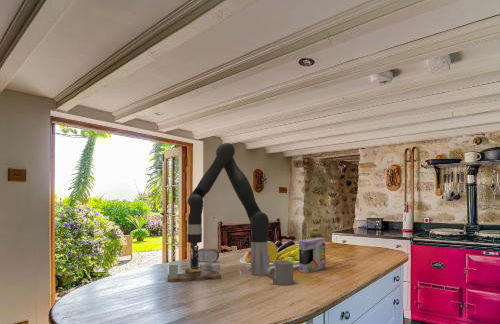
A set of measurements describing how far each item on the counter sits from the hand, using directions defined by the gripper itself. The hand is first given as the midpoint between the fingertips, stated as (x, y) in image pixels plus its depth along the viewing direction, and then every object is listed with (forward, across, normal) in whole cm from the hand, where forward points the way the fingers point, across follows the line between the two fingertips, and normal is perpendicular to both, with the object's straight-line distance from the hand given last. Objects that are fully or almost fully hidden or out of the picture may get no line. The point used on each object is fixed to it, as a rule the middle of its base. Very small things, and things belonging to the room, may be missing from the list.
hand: (194, 264), depth 176 cm
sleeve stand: (+7, 0, 0) cm, 7 cm away
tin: (+7, +42, -12) cm, 44 cm away
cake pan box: (+7, +2, -67) cm, 67 cm away
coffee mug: (+7, -20, -40) cm, 45 cm away
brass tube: (+4, 0, -4) cm, 6 cm away
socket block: (+5, 0, +10) cm, 12 cm away
